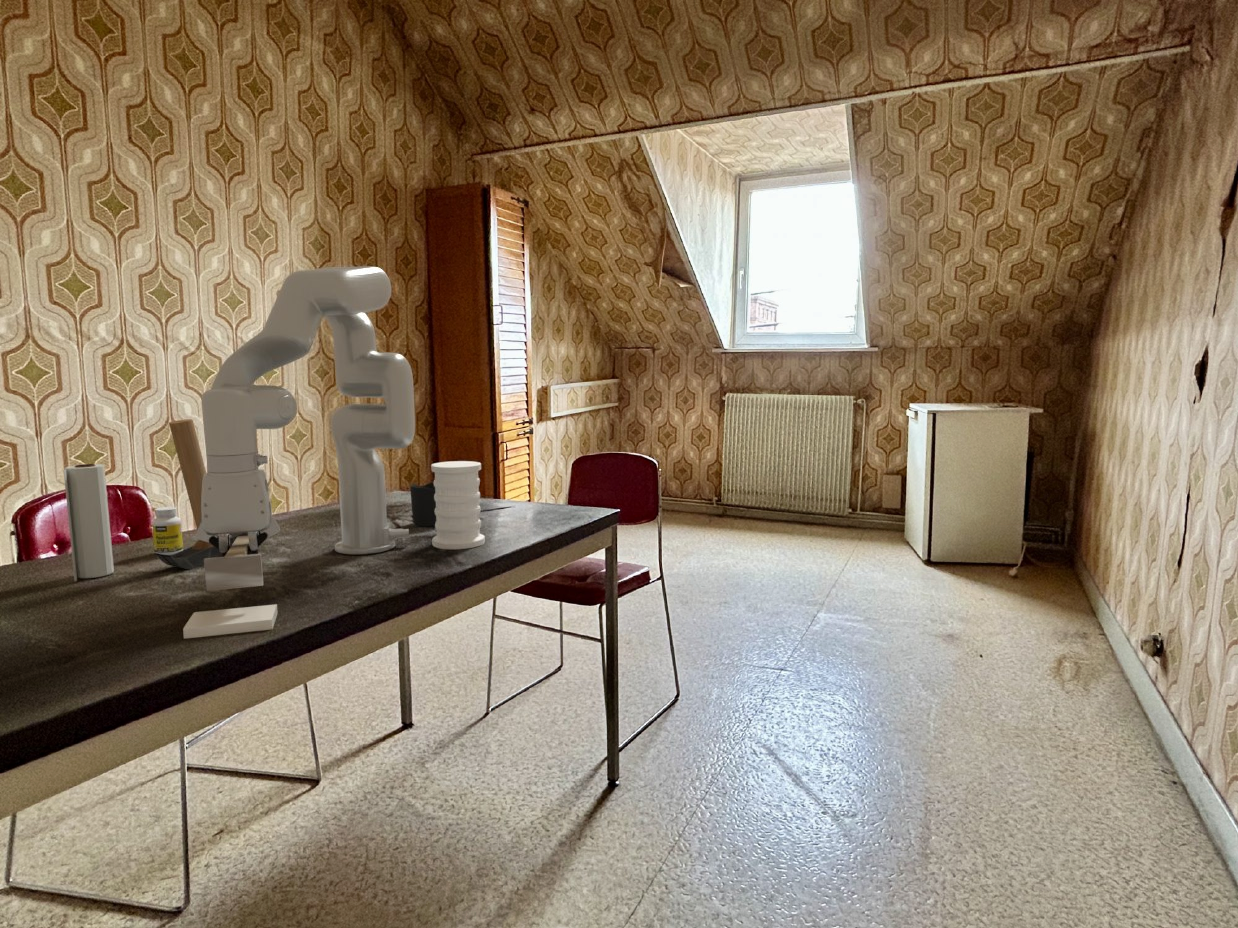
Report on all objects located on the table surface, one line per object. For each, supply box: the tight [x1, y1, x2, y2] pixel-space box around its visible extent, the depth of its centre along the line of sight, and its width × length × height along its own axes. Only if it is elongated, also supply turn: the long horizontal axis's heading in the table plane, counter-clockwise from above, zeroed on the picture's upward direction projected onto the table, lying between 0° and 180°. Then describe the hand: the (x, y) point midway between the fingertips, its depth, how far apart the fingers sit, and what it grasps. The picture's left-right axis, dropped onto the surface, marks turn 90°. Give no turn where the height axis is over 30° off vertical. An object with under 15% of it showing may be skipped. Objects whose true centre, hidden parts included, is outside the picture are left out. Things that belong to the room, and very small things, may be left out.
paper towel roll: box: [63, 463, 115, 582], centre depth 145 cm, size 7×6×21 cm
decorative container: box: [430, 460, 486, 550], centre depth 170 cm, size 12×12×18 cm
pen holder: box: [409, 481, 436, 528], centre depth 192 cm, size 9×9×10 cm
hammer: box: [153, 418, 261, 570], centre depth 153 cm, size 20×5×30 cm, turn 153°
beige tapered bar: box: [203, 536, 264, 592], centre depth 126 cm, size 15×8×5 cm, turn 19°
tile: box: [182, 603, 279, 640], centre depth 118 cm, size 12×2×8 cm
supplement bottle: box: [151, 506, 184, 556], centre depth 163 cm, size 5×5×10 cm
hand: (241, 571), depth 127 cm, fingers closed on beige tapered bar, 2 cm apart
